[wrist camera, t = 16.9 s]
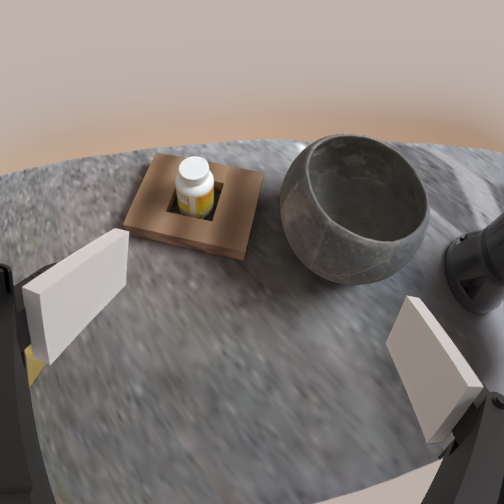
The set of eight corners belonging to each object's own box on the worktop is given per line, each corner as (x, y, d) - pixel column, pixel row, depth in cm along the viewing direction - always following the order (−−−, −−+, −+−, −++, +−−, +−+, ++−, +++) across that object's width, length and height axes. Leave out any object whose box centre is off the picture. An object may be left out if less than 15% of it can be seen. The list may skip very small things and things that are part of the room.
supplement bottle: (176, 220, 48) (169, 182, 40) (182, 191, 51) (176, 151, 42) (211, 223, 49) (211, 185, 40) (215, 194, 51) (216, 153, 42)
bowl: (382, 194, 55) (419, 138, 42) (398, 304, 46) (455, 266, 33) (271, 179, 54) (287, 112, 40) (268, 298, 45) (291, 252, 31)
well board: (261, 184, 53) (263, 173, 50) (243, 261, 47) (245, 252, 44) (158, 164, 53) (156, 152, 50) (127, 234, 47) (123, 224, 44)
